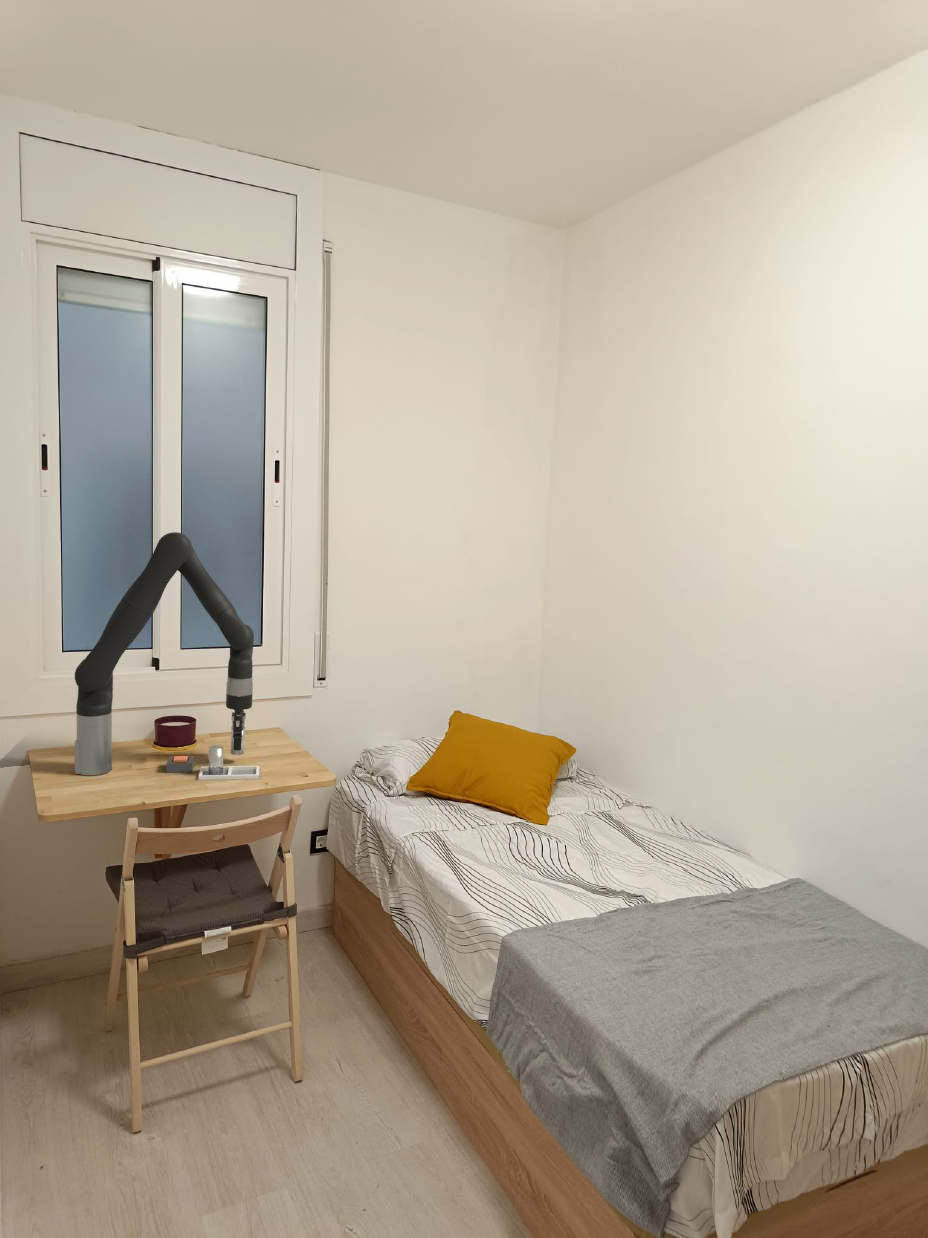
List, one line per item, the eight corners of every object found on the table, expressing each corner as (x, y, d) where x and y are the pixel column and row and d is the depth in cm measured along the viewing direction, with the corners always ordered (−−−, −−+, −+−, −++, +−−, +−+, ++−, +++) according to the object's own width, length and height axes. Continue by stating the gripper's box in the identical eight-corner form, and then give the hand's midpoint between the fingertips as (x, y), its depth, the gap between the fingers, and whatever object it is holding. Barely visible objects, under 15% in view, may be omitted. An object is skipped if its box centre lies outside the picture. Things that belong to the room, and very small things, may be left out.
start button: (173, 768, 240) (173, 760, 240) (174, 764, 244) (174, 756, 243) (186, 768, 241) (186, 759, 241) (187, 764, 244) (187, 756, 244)
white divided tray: (196, 784, 234) (196, 777, 234) (199, 773, 243) (199, 766, 243) (260, 783, 238) (260, 775, 237) (260, 772, 247) (261, 765, 247)
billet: (230, 755, 248) (231, 728, 247) (230, 751, 252) (231, 725, 251) (244, 755, 249) (245, 728, 248) (244, 751, 253) (245, 725, 252)
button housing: (166, 777, 238) (166, 763, 238) (169, 769, 245) (169, 756, 245) (192, 776, 240) (192, 763, 239) (194, 769, 247) (194, 756, 246)
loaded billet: (207, 777, 237) (208, 749, 236) (208, 772, 241) (209, 745, 240) (222, 776, 238) (222, 749, 237) (223, 772, 242) (223, 745, 241)
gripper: (227, 686, 254) (225, 741, 256) (225, 697, 240) (223, 755, 242) (253, 686, 256) (251, 741, 258) (252, 697, 242) (249, 755, 244)
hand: (237, 747), depth 250 cm, fingers closed on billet, 4 cm apart
